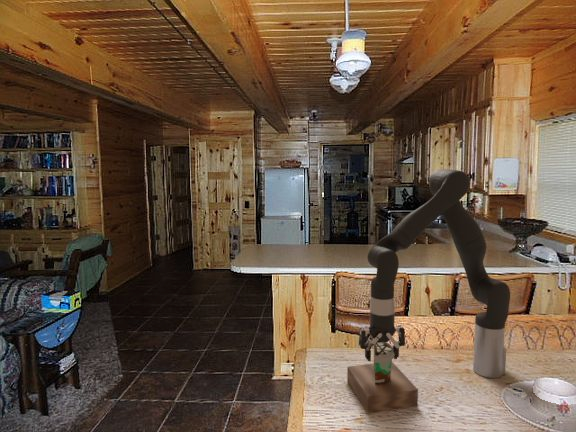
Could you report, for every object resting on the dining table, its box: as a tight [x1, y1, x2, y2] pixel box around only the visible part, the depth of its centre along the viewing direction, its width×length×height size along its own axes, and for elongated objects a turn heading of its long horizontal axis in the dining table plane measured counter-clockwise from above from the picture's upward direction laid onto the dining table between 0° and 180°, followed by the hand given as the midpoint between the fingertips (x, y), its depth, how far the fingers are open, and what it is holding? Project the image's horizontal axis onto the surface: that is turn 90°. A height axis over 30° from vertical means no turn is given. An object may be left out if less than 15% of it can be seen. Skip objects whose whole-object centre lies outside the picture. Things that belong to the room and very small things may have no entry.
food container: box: [373, 342, 394, 385], centre depth 132 cm, size 12×6×10 cm, turn 171°
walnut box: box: [346, 361, 419, 414], centre depth 133 cm, size 16×18×6 cm
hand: (381, 359), depth 132 cm, fingers open, 8 cm apart
